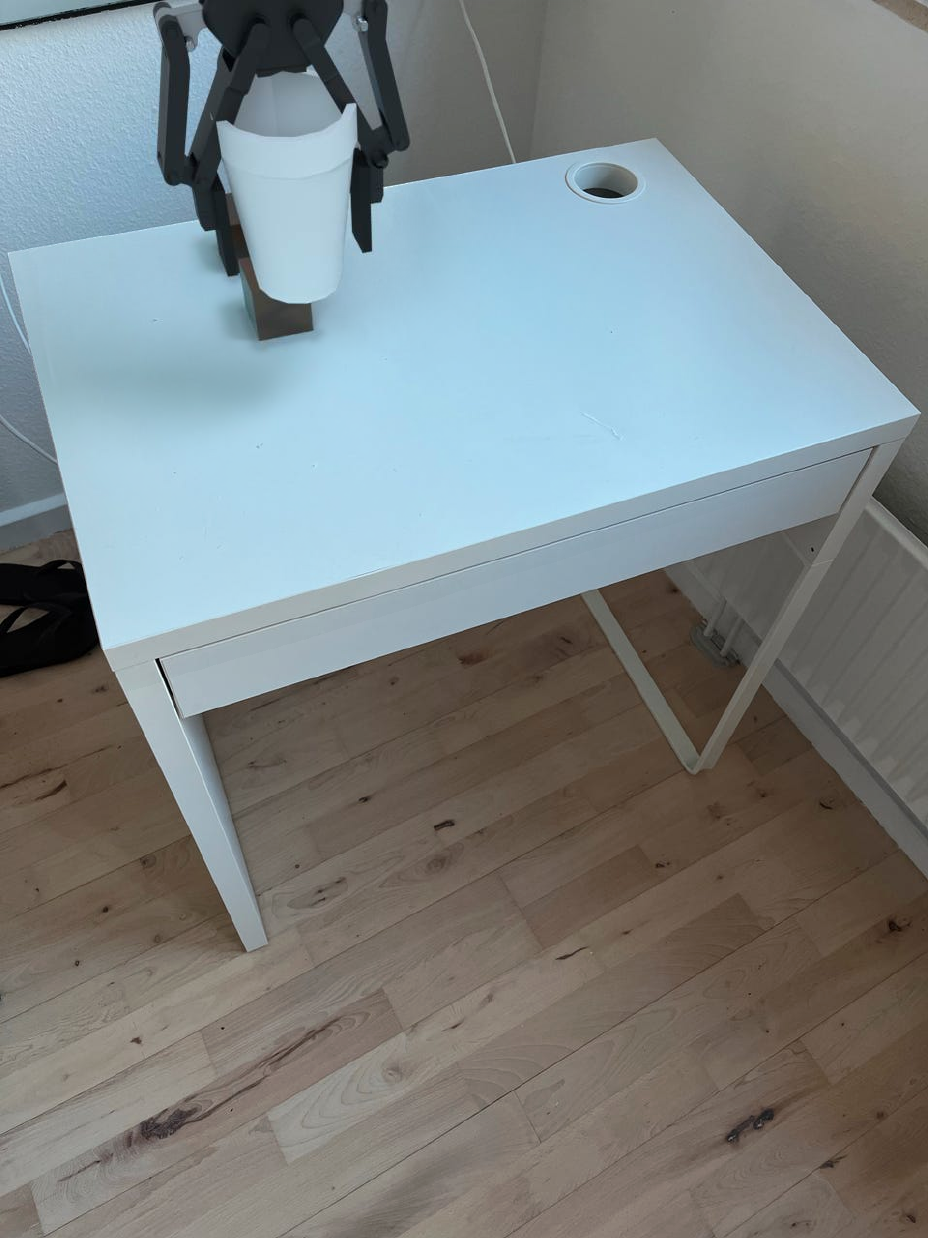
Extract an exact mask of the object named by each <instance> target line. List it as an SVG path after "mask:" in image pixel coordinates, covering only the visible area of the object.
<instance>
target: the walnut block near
mask: <svg viewBox="0 0 928 1238" xmlns="http://www.w3.org/2000/svg"><path fill="white" fill-rule="evenodd" d="M238 262H239V268H240V273H239V274H240V281H241V286H242V292H243V299H244V305H245V306H244V307H245V308H246V311H247V314H248V317H249V319H250V321H251V324H252V327H253V329H254V332H255V334H256V337H257V339H258V341H266V340H270V339H275V338H280V337H286V336H291V335H297V334H302V333H307V332H312V331H314V323H313V321H314V320H313V310H312V302H311V303H286V302H283V301H279V300H276V299H273V298H271V297H269V296H268V295H267V294H266V293H265V292H263V291H262V290H261V289H260V288H259V284H258V281H257V278H256V275H255V271H254V268H253V264H252V261H251V257H247V258H241V259H238Z"/></svg>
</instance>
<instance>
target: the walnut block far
mask: <svg viewBox="0 0 928 1238" xmlns="http://www.w3.org/2000/svg"><path fill="white" fill-rule="evenodd" d="M225 194H226V200H227V206H228V213H229V219H230V225H231V231H232V238H233V244H234V250H235V256H236V263H237V269H238V274H240V268H239V262H238V259H241V258H247V257H250V254H249V251H248V247H247V244H246V240H245V237H244V233H243V230H242V227H241V223H240V220H239V216H238V213H237V209H236V206H235V203H234V199H233V196H232V192H227V193H226V192H225Z"/></svg>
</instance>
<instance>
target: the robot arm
mask: <svg viewBox="0 0 928 1238" xmlns="http://www.w3.org/2000/svg"><path fill="white" fill-rule="evenodd" d="M342 14H346V16H347V20H348V22H349V23H350V25H351V27H352V29H354V31H356V32H357V37H358V40H359V44H360V48H361V51H362V56H363V59H364V63H365V68H366V70H367V75H368V78H369V82H370V85H371V89H372V94H373V97H374V100H375V105H376V108H377V111H378V116H379V119H380V123H381V125H380V126H377V127H376V128H374V129H373V128H372V126H371V125H370V123H369V121H368V119H367V118H366V116H365V115H364V113H363V111H362V110H361V107H360V106H359V103H358V102H357V101H356V99H355V97H354V96H353V93H352V92H351V90H350V88H349V87H348V84H346V82H345V79H344V78H343V77H342V75H341V72H340V71H339V68H337V66H336V64H335V62H334V60H333V59H332V57H331V55H330V54H329V52H328V50H327V48H326V47H325V45H327V42H328V41H329V39H330V37H331V35H332V33H333V31H334V30H335V28H336V26H337V25H338V22H339V20H340V19H341V17H342ZM388 14H389V5H388V3H387V1H386V0H198V1H197V2H196V3H191V4H186V5H181V6H176V7H172V6H171V4H170V3H169V2H166V1H158V2H156V3H155V4H154V5H153V8H152V16H153V20H154V23H155V26H156V30H157V33H158V36H159V40H160V43H161V54H160V55H161V56H160V77H159V96H158V97H159V98H158V99H159V100H158V117H157V119H158V120H157V137H156V138H157V140H156V160H157V163H158V167H159V169H160V172H161V174H162V178H163V180H164V181H165V184H167V185H169V186H171V187H177V186H179V185H185V186H188V187H190V188H191V193H192V198H193V203H194V208H195V214H196V216H197V219H198V222H199V224H200V227H201V228H202V230H203V231H204V232H213V231H214V232H215V237H216V242H217V243H216V244H217V248H218V254H219V257H220V260H221V263H222V265H223V267H224V270H225V272H226V276H227V277H228V278H230V277H237V276H239V273H238V269H237V263H236V256H235V250H234V244H233V238H232V231H231V225H230V219H229V213H228V206H227V200H226V190H225V187H224V184H223V182H222V180H221V177H220V175H219V172H218V170H219V166H220V164H221V162H222V155H221V149H220V143H219V136H218V130H217V124H216V122H218V121H228V122H229V123H230V124H232V125H234V123H235V120H236V117H237V114H238V111H239V109H240V106H241V103H242V100H243V98H244V96H245V95H247V94H248V93H249V90H250V88H251V85H252V82H253V79H254V77H255V74H256V75H257V77H258V78H261V77H269V76H272V75H274V74H277V73H279V72H282V71H284V72H290V73H301V72H307V69H308V68H309V67H311V66H312V67H313V69H314V71H316V72H317V74H318V76H319V77H320V79H321V81H322V82H323V84H324V86H325V87H326V89H327V91H328V92H329V94H330V96H331V97H332V99H333V101H334V102H335V104H336V106H337V107H338V109H339V111H340V112H341V114H343V112H344V110H345V108H346V105H347V104H351V103H356V112H357V143H358V145H360V146H359V147H360V148H359V147H358V146H357V147H354V150H353V161H352V171H351V182H350V192H349V202H350V225H351V226H350V227H351V233H352V236H353V238H354V240H355V241H356V243H357V245H358V247H359V249H360V251H361V252H362V254H366V253H367V254H368V253H372V252H373V227H372V226H373V223H372V205H375V204H381V203H382V201H383V198H384V196H385V195H384V194H385V191H384V188H385V187H384V170H385V169H386V168H387V167H388V165H389V163H390V158H389V155H390V154H392V153H393V152H395V151H397V152H400V153H401V152H405V151H406V150H408V149H409V148H410V145H411V138H410V134H409V130H408V126H407V122H406V117H405V113H404V109H403V105H402V101H401V96H400V92H399V88H398V84H397V80H396V75H395V72H394V67H393V62H392V59H391V55H390V51H389V47H388V41H387V27H388V26H387V25H388ZM204 29H207V30H208V31H209V32H210V33H211V34H212V36H213V37H214V38H215V39H216V40H217V41H218V42H219V44H221V46H220V49H219V52H218V55H217V59H216V70H215V73H214V76H213V79H212V82H211V86H210V89H209V91H208V95H207V97H206V101H205V103H204V106H203V109H202V113H201V116H200V117H199V121H198V124H197V127H196V130H195V133H194V135H193V139H192V142H191V144H190V148H189V152H188V154H187V155H186V140H187V126H188V112H189V97H190V86H191V85H190V83H191V62H190V55H189V53H193V52H194V51H195V50H196V48H197V47H198V43H199V34H200V33H201V31H203V30H204ZM348 88H349V89H348ZM210 114H211V115H210ZM211 116H212V118H213V120H212V119H211Z"/></svg>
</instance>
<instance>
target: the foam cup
mask: <svg viewBox="0 0 928 1238" xmlns="http://www.w3.org/2000/svg"><path fill="white" fill-rule="evenodd" d="M348 89H349V90H350V88H349V87H348ZM210 115H211V114H210ZM211 119H212V120H213V118H212V116H211ZM216 124H217V130H218V136H219V143H220V149H221V155H222V159H221V162H222V165H223V168H224V172H225V175H226V178H227V182H228V185H229V189H230V193H232V196H233V199H234V203H235V206H236V209H237V213H238V216H239V220H240V223H241V227H242V230H243V233H244V237H245V240H246V244H247V247H248V251H249V254H250V257H251V261H252V264H253V268H254V271H255V275H256V278H257V281H258V284H259V288H260V289H261V290H262V291H263V292H265V293H266V294H267V295H268V296H269V297H271V298H273V299H276V300H279V301H283V302H286V303H311V304H312V303H313V302H317V301H321V300H324V299H326V298H328V297H329V296H330V295H331V294H332V293H334V292H335V291H337V290H338V288H339V285H340V282H341V279H342V272H343V265H344V256H345V255H344V254H345V244H346V234H347V233H346V232H347V222H348V212H349V202H350V182H351V171H352V161H353V150H354V148H356V144H357V143H358V141H357V112H356V103H351V104H347V105H346V108H345V110H344V112H343V114H341V112H340V111H339V109H338V107H337V106H336V104H335V102H334V101H333V99H332V97H331V96H330V94H329V92H328V91H327V89H326V87H325V86H324V84H323V82H322V81H321V79H320V77H319V76H318V74H317V72H316V71H315V70H312V69H308V68H307V72H301V73H290V72H284V71H282V72H279V73H277V74H274V75H272V76H269V77H261V78H258V77H257V75H256V74H255V77H254V79H253V82H252V85H251V88H250V90H249V93H248V94H247V95H245V96H244V98H243V100H242V103H241V106H240V109H239V111H238V114H237V117H236V120H235V123H234V125H232V124H230V123H229V122H228V121H218V122H216Z"/></svg>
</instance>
